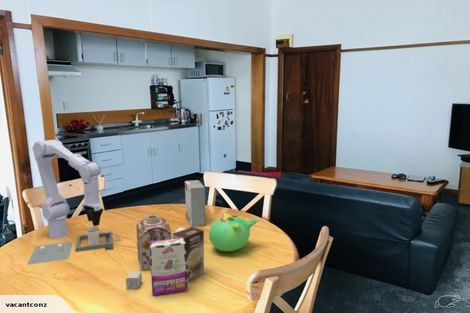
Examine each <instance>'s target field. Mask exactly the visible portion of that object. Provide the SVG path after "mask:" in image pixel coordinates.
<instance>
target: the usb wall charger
mask: <svg viewBox="0 0 470 313" xmlns="http://www.w3.org/2000/svg"><path fill="white" fill-rule="evenodd" d="M142 282H143V274H142V271H138V270H137V271H129V273H128V275H127V277H126V278H125V288H126V289H127V290H138V289H139V288H140V286H141V284H142Z"/></svg>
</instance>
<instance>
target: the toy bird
mask: <svg viewBox="0 0 470 313" xmlns="http://www.w3.org/2000/svg"><path fill="white" fill-rule="evenodd" d="M258 221H259V220H258V218H254V219H248V220H245V219H244V218H242V217H241V216H239V215H235V214H233V215H232V214H229V213H227V212H224V213H223V216H221V217H219V218H217V219H216V220H215V221H214V222H212V224H211V226H210V228H209V231H208V236H209V240H210V243H211V245H212V246H213V247H214V248H216V249H217V250H219V251H221V252H236V251H238V250H241V248H243V247H244V246H245V245H246V244H247V242H248V241H249V239H250V234H251V228H252V227H253V226H254V225H256V224H257V223H258Z"/></svg>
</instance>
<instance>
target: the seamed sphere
mask: <svg viewBox="0 0 470 313" xmlns="http://www.w3.org/2000/svg"><path fill="white" fill-rule="evenodd" d="M184 229H187V228H186V227H184V226H183V227H178V228H177V229H176V230H175V231H174V233H176V232H179V231H182V230H184Z"/></svg>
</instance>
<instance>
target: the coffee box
mask: <svg viewBox="0 0 470 313" xmlns="http://www.w3.org/2000/svg"><path fill="white" fill-rule="evenodd" d="M204 232H205V231H204V230H203V229H201V228H197V227H191V226H190V227H188V228H187V229H184V230H182V231H179V232H176V233H175V232H173V233H172V239H177V238H184V241H185V243H186V267H187V283H189V282H191V281H193V280H194V279H196V278H199V277H200V276H202V275H204V274H205V244H204V242H205V238H204V237H205V233H204Z"/></svg>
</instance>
